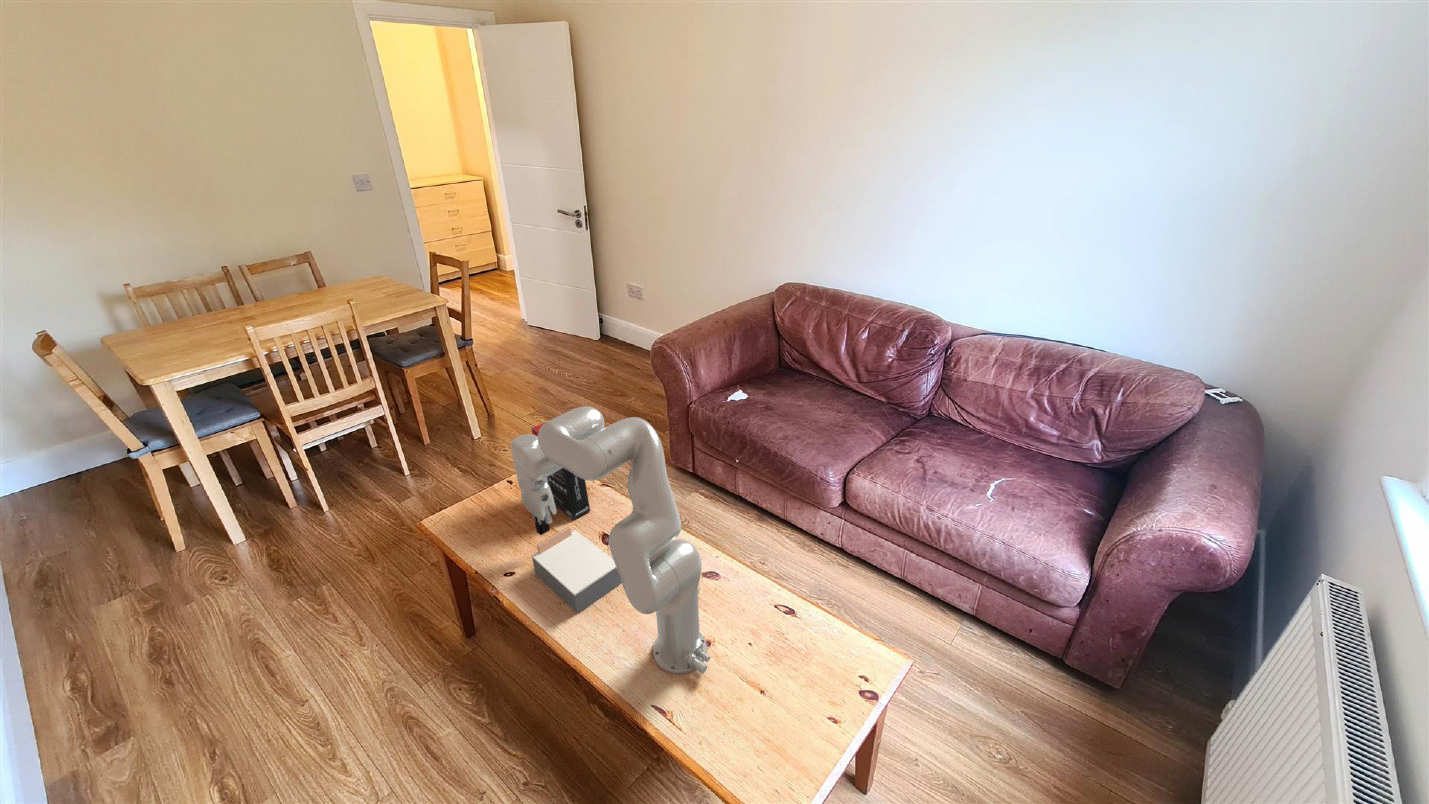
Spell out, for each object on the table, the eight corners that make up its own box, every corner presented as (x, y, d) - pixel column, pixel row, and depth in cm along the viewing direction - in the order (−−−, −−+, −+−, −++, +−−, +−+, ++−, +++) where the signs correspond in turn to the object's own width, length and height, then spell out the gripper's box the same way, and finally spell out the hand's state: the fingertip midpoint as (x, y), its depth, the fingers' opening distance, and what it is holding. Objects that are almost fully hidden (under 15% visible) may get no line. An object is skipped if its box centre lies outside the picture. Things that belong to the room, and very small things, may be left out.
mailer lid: (619, 565, 151) (618, 557, 150) (574, 596, 142) (573, 587, 141) (575, 531, 163) (574, 522, 162) (531, 557, 155) (529, 548, 153)
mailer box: (621, 583, 154) (619, 566, 151) (578, 613, 145) (574, 596, 143) (578, 548, 166) (575, 532, 164) (535, 574, 158) (532, 558, 155)
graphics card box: (592, 512, 181) (581, 438, 168) (573, 523, 176) (560, 448, 163) (561, 489, 191) (549, 419, 178) (543, 499, 187) (529, 427, 174)
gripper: (560, 483, 150) (570, 537, 159) (530, 461, 160) (540, 513, 168) (535, 496, 146) (546, 551, 154) (505, 473, 155) (517, 526, 164)
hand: (543, 531), depth 161 cm, fingers closed
